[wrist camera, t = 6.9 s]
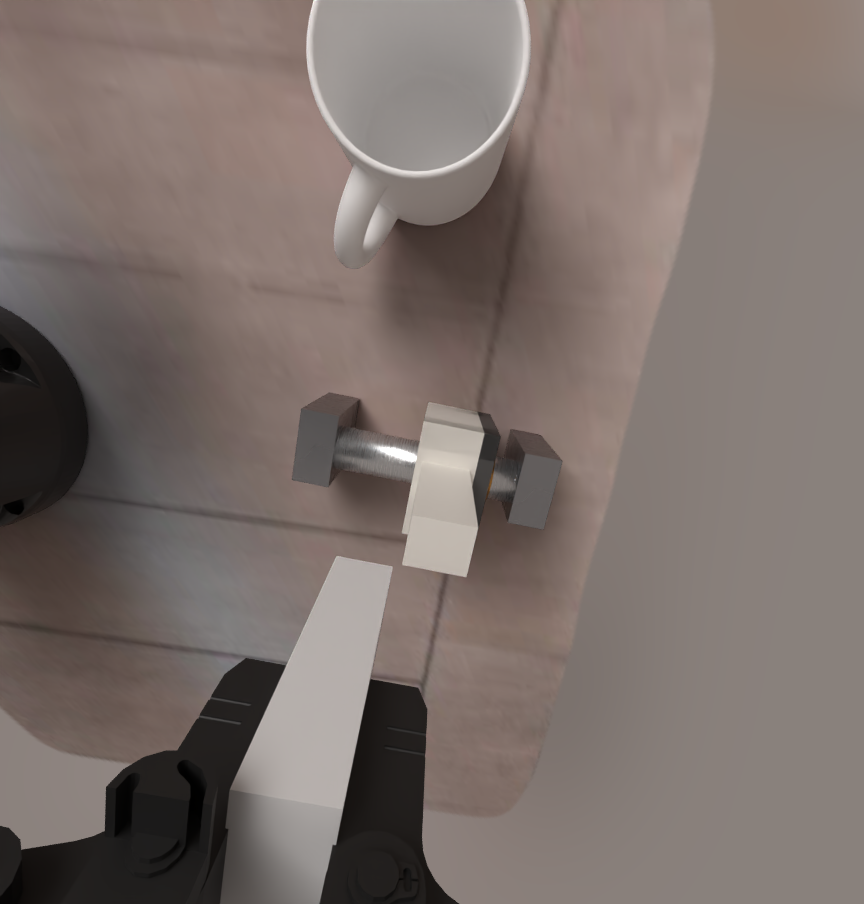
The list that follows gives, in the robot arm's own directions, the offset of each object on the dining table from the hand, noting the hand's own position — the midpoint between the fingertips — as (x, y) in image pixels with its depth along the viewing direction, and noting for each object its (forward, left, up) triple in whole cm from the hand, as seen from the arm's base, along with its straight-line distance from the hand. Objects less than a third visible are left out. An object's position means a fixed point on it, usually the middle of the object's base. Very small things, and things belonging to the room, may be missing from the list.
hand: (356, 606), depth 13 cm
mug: (-3, +15, -20) cm, 25 cm away
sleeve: (+3, 0, -18) cm, 18 cm away
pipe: (+1, 0, -20) cm, 20 cm away
